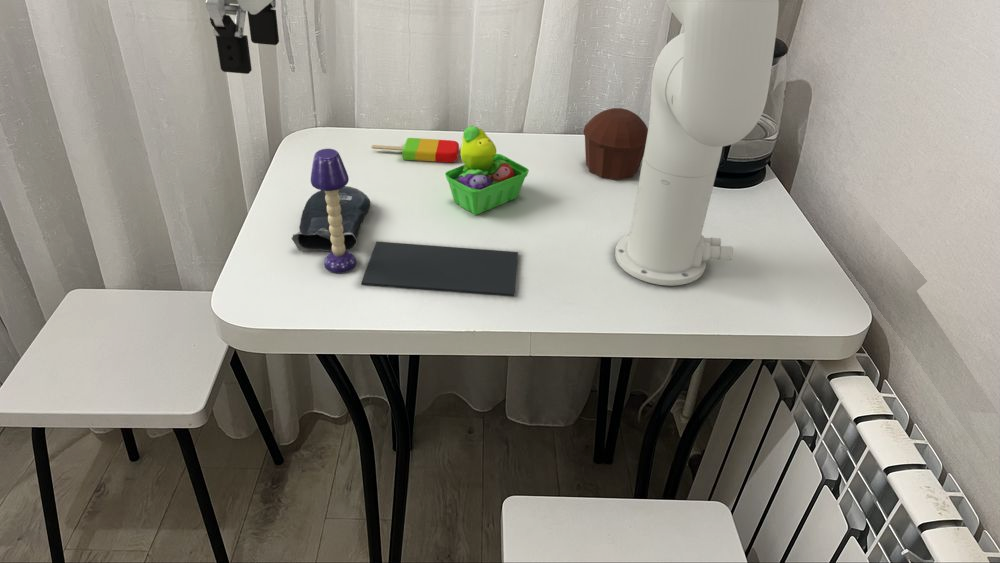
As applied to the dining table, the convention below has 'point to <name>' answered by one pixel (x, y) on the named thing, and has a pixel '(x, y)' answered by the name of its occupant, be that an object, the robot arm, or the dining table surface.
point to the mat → (442, 268)
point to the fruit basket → (484, 174)
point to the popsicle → (426, 150)
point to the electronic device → (317, 225)
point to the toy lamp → (333, 206)
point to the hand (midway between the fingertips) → (251, 56)
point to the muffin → (615, 143)
